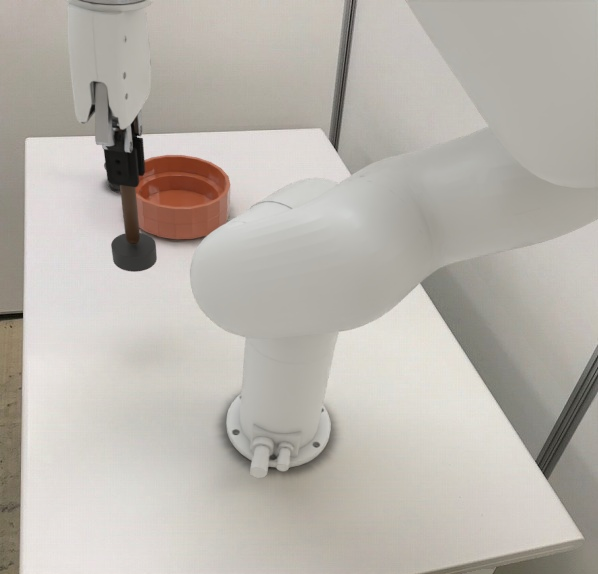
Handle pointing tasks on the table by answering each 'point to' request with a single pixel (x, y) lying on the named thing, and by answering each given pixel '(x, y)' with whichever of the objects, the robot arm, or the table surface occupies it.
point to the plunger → (132, 237)
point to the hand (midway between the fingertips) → (126, 177)
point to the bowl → (182, 197)
